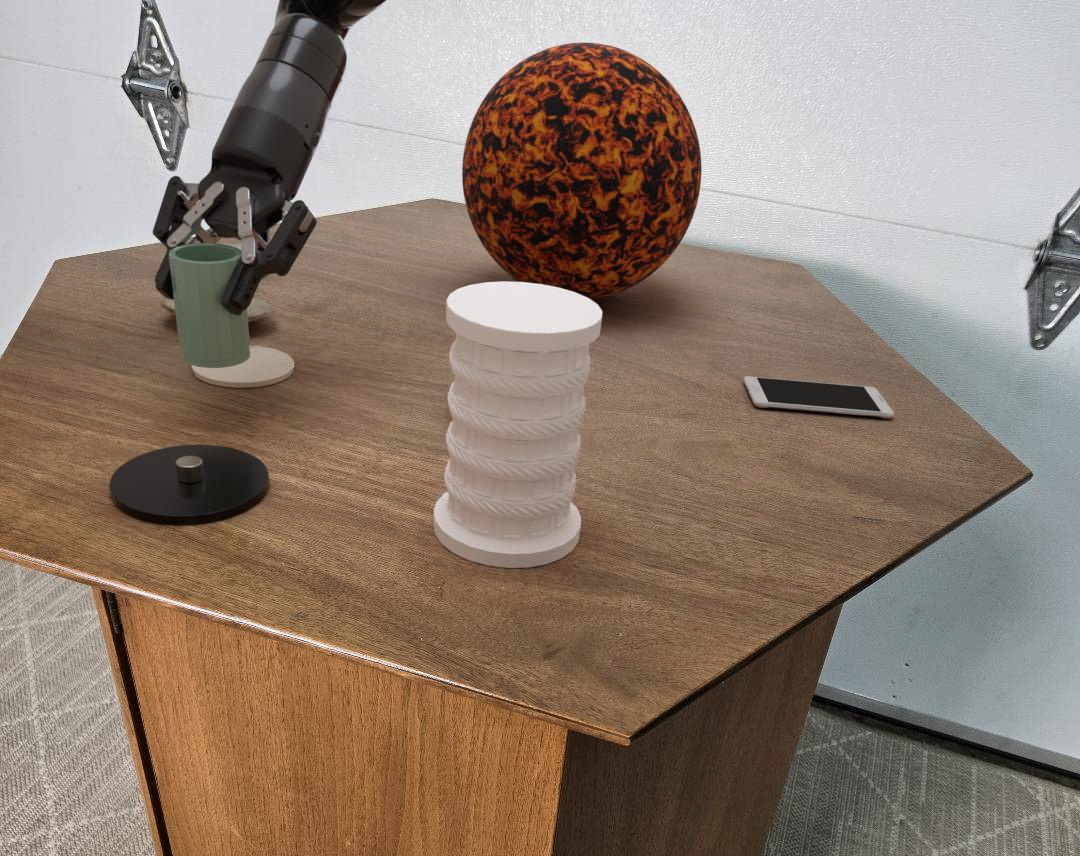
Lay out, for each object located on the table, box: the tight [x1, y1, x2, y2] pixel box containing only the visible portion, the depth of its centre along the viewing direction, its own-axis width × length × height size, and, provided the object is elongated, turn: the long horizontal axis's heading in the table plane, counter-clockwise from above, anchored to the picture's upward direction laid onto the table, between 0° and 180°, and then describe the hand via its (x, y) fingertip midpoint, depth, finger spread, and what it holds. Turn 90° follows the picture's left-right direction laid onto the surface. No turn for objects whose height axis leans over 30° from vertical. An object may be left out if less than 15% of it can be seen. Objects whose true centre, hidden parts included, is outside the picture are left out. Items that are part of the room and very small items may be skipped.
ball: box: [461, 42, 702, 300], centre depth 123 cm, size 30×30×30 cm
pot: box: [169, 243, 251, 368], centre depth 84 cm, size 6×6×9 cm
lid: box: [108, 444, 270, 526], centre depth 78 cm, size 12×12×2 cm
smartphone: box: [742, 375, 895, 419], centre depth 105 cm, size 8×1×15 cm
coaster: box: [190, 345, 295, 389], centre depth 99 cm, size 10×10×1 cm
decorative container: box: [432, 280, 603, 569], centre depth 73 cm, size 12×12×18 cm
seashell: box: [159, 296, 276, 323], centre depth 109 cm, size 12×12×3 cm
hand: (197, 301), depth 82 cm, fingers closed on pot, 6 cm apart
